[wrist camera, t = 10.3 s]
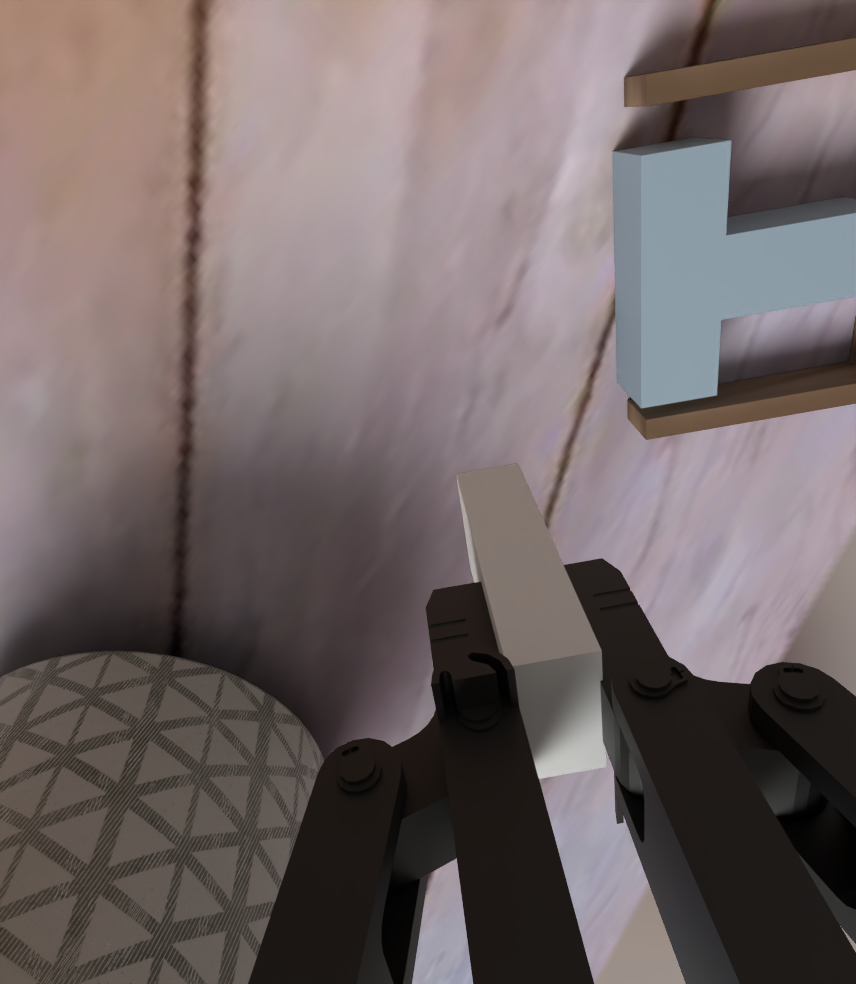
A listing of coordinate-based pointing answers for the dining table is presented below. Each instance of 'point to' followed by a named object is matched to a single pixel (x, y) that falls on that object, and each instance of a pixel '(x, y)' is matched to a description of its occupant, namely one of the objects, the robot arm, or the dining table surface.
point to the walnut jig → (769, 391)
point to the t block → (708, 264)
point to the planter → (143, 819)
